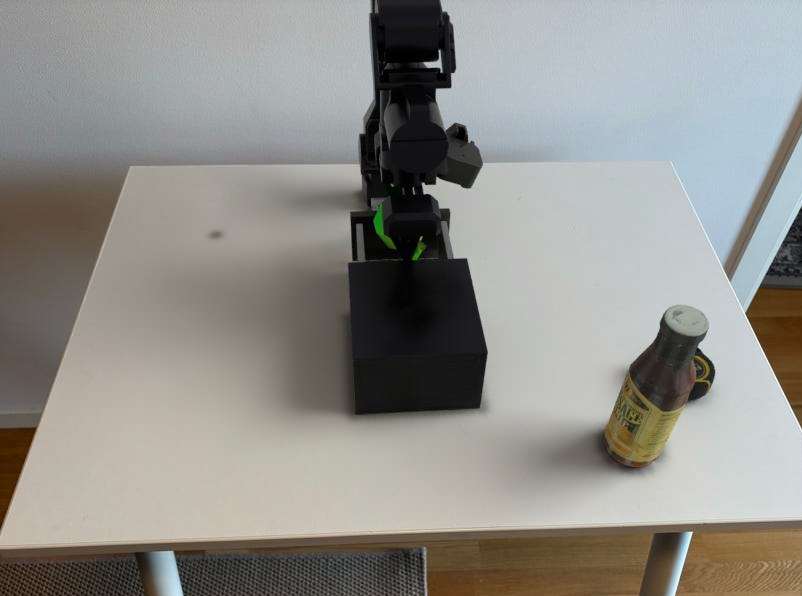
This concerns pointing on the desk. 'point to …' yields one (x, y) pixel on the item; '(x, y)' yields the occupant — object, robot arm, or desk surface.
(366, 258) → the tray
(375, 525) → the desk surface
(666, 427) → the sauce bottle
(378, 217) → the apple
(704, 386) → the tape measure
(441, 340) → the box
